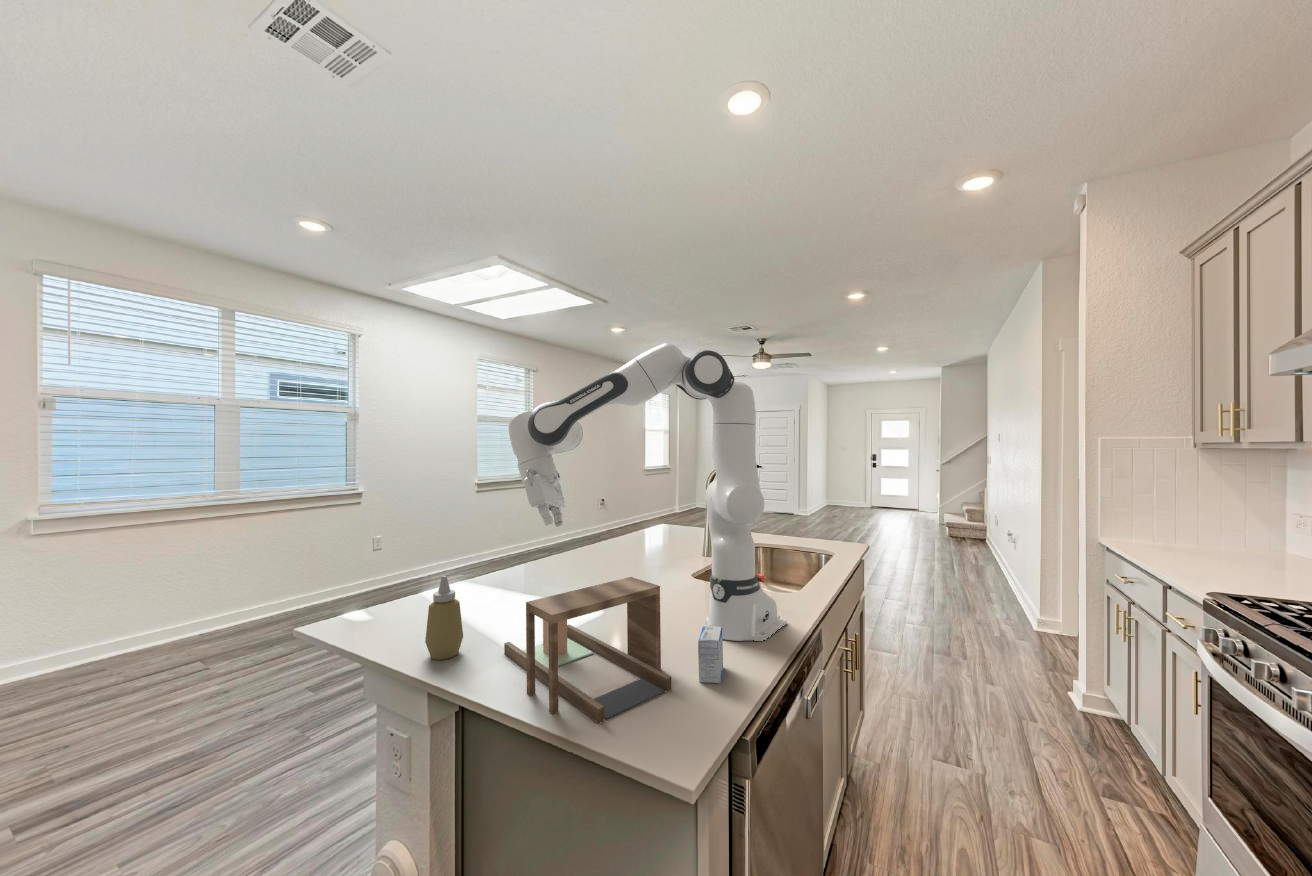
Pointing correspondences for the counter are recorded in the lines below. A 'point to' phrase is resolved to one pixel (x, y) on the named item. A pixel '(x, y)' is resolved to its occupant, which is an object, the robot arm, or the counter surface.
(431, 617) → the squeeze bottle
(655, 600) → the walnut tunnel
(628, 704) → the pad
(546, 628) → the terracotta block
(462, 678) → the counter surface
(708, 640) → the medicine box
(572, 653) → the pad
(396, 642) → the counter surface
